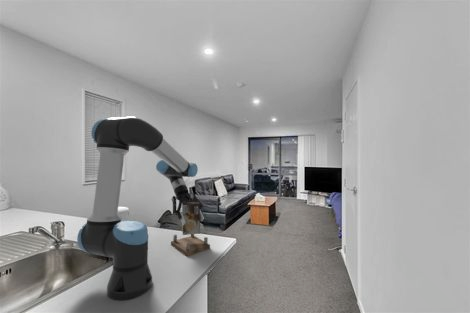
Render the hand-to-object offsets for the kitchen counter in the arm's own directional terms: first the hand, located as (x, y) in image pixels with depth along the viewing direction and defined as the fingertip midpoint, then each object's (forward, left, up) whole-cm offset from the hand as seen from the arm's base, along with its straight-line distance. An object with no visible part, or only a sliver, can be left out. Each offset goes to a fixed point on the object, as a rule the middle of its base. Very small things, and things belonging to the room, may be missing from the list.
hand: (193, 221), depth 116 cm
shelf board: (0, +3, -14) cm, 14 cm away
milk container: (-30, +35, -14) cm, 49 cm away
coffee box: (0, +3, -7) cm, 7 cm away
